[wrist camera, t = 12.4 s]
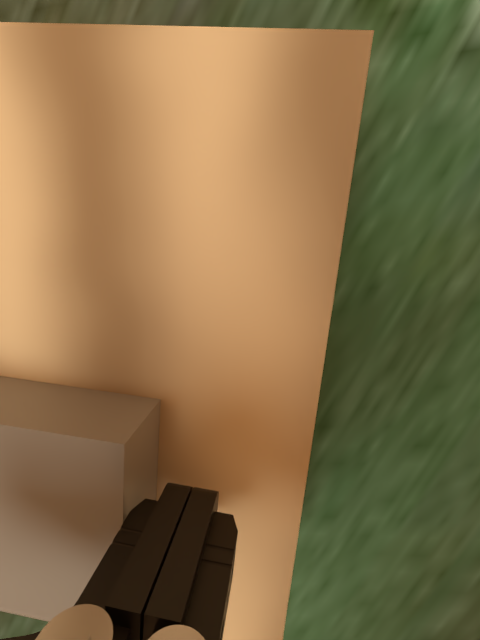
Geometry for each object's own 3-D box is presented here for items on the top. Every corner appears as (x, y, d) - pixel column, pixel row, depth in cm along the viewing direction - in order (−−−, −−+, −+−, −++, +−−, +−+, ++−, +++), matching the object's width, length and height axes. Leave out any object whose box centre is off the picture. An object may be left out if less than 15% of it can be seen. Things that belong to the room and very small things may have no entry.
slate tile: (160, 399, 11) (124, 444, 8) (153, 558, 12) (120, 637, 10) (-17, 373, 11) (-99, 408, 9) (-5, 527, 13) (-73, 594, 10)
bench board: (337, 120, 14) (373, 30, 8) (282, 523, 18) (280, 655, 12) (56, 106, 15) (-87, 20, 9) (66, 484, 19) (-29, 587, 14)
